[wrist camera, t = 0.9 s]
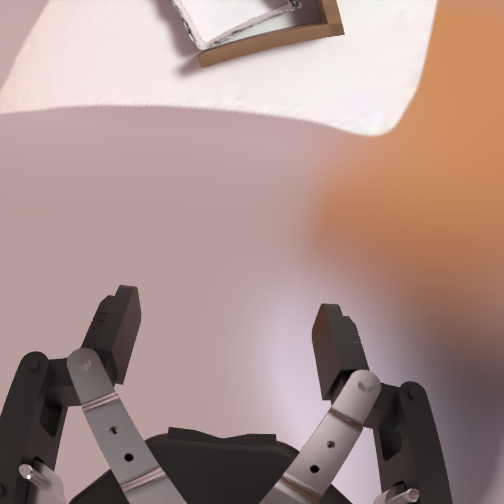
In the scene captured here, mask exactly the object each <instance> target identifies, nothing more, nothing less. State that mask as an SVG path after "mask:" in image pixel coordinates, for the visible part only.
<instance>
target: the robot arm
mask: <svg viewBox="0 0 504 504" xmlns="http://www.w3.org/2000/svg"><path fill="white" fill-rule="evenodd" d="M140 322H141V308H140V301H139V295H138V289H137V287H134V286H125V285H120V286H119V288H118V290H117V292H116V294H115V296H111V295H108V296H107V297H106V298H105V299H104V300H103V301H102V302H101V303H100V304H99V307H98V309H97V311H96V313H95V316H94V318H93V321H92V322H91V325H90V327H89V329H88V332H87V334H86V336H85V339H84V341H83V344H82V346H81V348H80V349H77V350H75V351H73V352H72V353H71V354H70V355H69V357H68V358H64V359H51V360H48V358H47V357H46V355H45V354H43V353H41V352H36V351H35V352H30V353H28V354H26V355H25V356H24V357H23V359H22V360H21V362H20V364H19V366H18V369H17V371H16V374H15V377H14V379H13V382H12V384H11V387H10V390H9V393H8V395H7V398H6V401H5V404H4V407H3V410H2V413H1V416H0V504H352V503H351V502H350V501H349V500H348V499H347V498H346V497H345V496H344V495H343V494H342V493H340V492H339V491H338V490H337V489H336V488H335V487H334V486H333V485H332V484H331V482H332V481H333V479H334V478H335V476H336V475H337V473H338V471H339V470H340V468H341V467H342V465H343V463H344V462H345V460H346V458H347V457H348V455H349V453H350V451H351V450H352V448H353V447H354V445H355V443H356V441H357V440H358V438H359V436H360V434H361V432H362V430H363V427H367V428H371V429H373V434H374V439H375V446H376V453H377V460H378V467H379V474H380V482H381V490H382V494H380V495H379V496H378V497H377V498H376V499H375V501H374V503H373V504H453V502H452V497H451V492H450V486H449V481H448V476H447V471H446V467H445V462H444V458H443V453H442V449H441V445H440V441H439V437H438V433H437V430H436V425H435V422H434V418H433V414H432V411H431V407H430V404H429V400H428V397H427V394H426V391H425V390H424V388H423V387H422V386H421V385H420V384H418V383H416V382H412V381H408V382H405V383H403V384H402V385H401V386H400V387H396V386H391V385H387V384H384V383H381V382H380V380H379V378H378V377H377V376H376V375H375V374H374V373H372V372H370V370H369V367H368V363H367V360H366V357H365V354H364V350H363V347H362V344H361V340H360V337H359V336H358V331H357V328H356V325H355V324H354V322H353V321H352V320H351V319H350V317H349V316H343V315H342V312H341V309H340V306H339V305H338V304H321V306H320V309H319V311H318V315H317V317H316V320H315V323H314V325H313V329H312V342H313V348H314V354H315V359H316V365H317V370H318V376H319V382H320V387H321V394H322V400H331V405H332V406H331V408H330V410H329V411H328V412H327V414H326V415H325V417H324V418H323V420H322V421H321V423H320V424H319V426H318V427H317V429H316V430H315V432H314V433H313V434H312V436H311V437H310V439H309V440H308V442H307V443H306V444H305V445H304V447H303V448H302V450H301V451H300V452H299V451H298V450H297V449H295V448H293V447H292V446H290V445H288V444H286V443H283V442H280V441H276V434H246V435H241V436H235V437H230V438H218V437H215V436H212V435H209V434H206V433H202V432H199V431H196V430H189V429H181V428H173V427H169V429H168V433H166V434H160V435H156V436H153V437H151V438H148V439H147V440H145V441H144V440H143V438H142V437H141V435H140V433H139V432H138V430H137V428H136V427H135V425H134V423H133V421H132V420H131V418H130V416H129V414H128V412H127V411H126V409H125V407H124V405H123V403H122V401H121V399H120V397H119V396H118V394H117V393H116V391H115V389H114V386H115V383H116V384H123V382H124V379H125V375H126V371H127V368H128V364H129V361H130V357H131V353H132V350H133V346H134V343H135V340H136V336H137V333H138V330H139V327H140ZM81 405H82V410H83V412H84V415H85V417H86V419H87V422H88V424H89V426H90V428H91V430H92V432H93V435H94V437H95V439H96V441H97V443H98V445H99V447H100V449H101V451H102V453H103V455H104V457H105V459H106V461H107V463H108V465H109V466H110V469H109V470H108V471H107V472H105V473H104V474H103V475H102V476H101V477H99V478H98V479H97V480H95V481H94V482H93V483H92V484H91V485H89V486H88V487H87V488H85V489H84V490H83V491H82V492H80V493H79V494H78V495H76V496H75V497H74V498H73V499H72V500H71V501H70V503H68V502H67V501H66V499H65V497H64V492H63V483H62V481H61V478H60V477H59V476H58V475H57V474H56V473H55V472H54V469H55V464H56V459H57V454H58V449H59V444H60V439H61V435H62V430H63V426H64V422H65V417H66V413H67V410H68V406H81Z"/></svg>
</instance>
